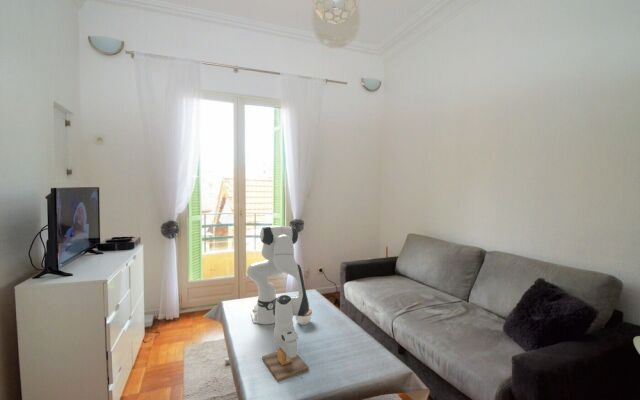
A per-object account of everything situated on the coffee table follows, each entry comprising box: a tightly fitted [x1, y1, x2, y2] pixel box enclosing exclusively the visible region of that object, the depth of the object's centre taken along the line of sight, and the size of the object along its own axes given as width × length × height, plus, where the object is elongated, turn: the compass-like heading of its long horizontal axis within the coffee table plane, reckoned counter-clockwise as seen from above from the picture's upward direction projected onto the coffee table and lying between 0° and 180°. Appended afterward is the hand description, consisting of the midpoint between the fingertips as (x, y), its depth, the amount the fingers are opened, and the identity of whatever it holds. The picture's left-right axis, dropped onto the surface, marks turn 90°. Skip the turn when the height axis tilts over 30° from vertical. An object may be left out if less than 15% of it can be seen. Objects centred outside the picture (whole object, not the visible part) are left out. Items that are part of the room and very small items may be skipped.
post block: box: [261, 351, 310, 383], centre depth 147 cm, size 20×16×5 cm
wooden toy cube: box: [276, 347, 292, 365], centre depth 147 cm, size 5×5×6 cm
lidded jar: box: [294, 308, 313, 326], centre depth 190 cm, size 11×11×9 cm
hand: (284, 356), depth 147 cm, fingers closed on wooden toy cube, 5 cm apart
